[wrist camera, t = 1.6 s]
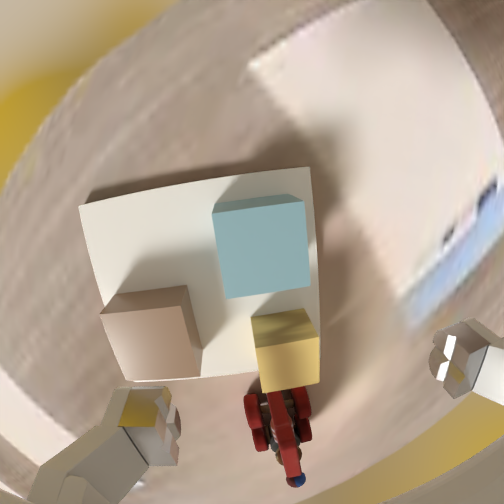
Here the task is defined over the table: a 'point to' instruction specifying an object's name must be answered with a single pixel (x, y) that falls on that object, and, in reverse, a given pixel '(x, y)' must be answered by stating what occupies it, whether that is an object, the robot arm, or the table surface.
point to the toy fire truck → (281, 429)
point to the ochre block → (286, 350)
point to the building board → (185, 277)
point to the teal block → (262, 245)
